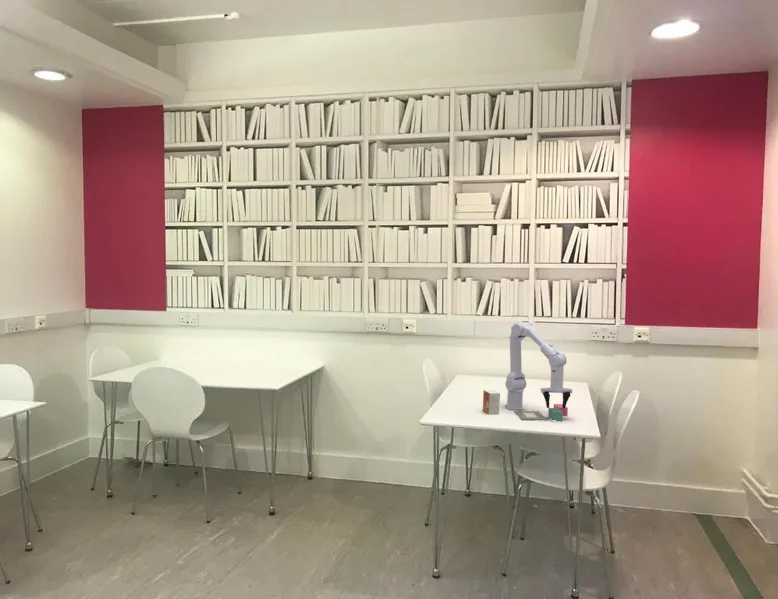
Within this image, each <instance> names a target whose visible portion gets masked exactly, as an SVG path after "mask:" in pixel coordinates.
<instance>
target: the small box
mask: <svg viewBox="0 0 778 599" xmlns="http://www.w3.org/2000/svg"><path fill="white" fill-rule="evenodd" d="M482 397H483V399H482V411H483V412H485V413H486V414H487V413H488V414H487V415H489V414H490V415H500V403H501V402H500V399H501V393H500V392H498V391H496V390H494V389H483V395H482Z"/></svg>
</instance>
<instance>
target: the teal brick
mask: <svg viewBox="0 0 778 599" xmlns="http://www.w3.org/2000/svg"><path fill="white" fill-rule="evenodd" d="M548 416H549V417H550V418H551V419H552V420H556V421H555V422H563V421H564V420H563V418H564V417H563V412H562V411H561V410H560V409H559V408H554V407H549V408H548V415H547V417H548ZM549 417H548V418H549ZM550 418H549V419H550ZM551 419H550V420H551ZM552 420H551V421H552Z"/></svg>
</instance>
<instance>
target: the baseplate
mask: <svg viewBox="0 0 778 599" xmlns="http://www.w3.org/2000/svg"><path fill="white" fill-rule="evenodd" d="M513 412H514V413H515V414H516V416H517V415H518V416H519V417H518V416H517V417H518V418H519V419H520V420H521V421H535V420H547V421H548V419H547V418H546V417H545V416H544V415H543V414H542V413H541V412H540V411H538V410H535V411H534V410H513Z"/></svg>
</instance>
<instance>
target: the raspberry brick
mask: <svg viewBox="0 0 778 599" xmlns="http://www.w3.org/2000/svg"><path fill="white" fill-rule="evenodd" d="M553 408H559V409H560V410H561V411H562V412H563V416H567V417H568V412H569V410H568V409H569V408H568V407H567V406H566V407H565V408H563V403H553Z"/></svg>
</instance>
